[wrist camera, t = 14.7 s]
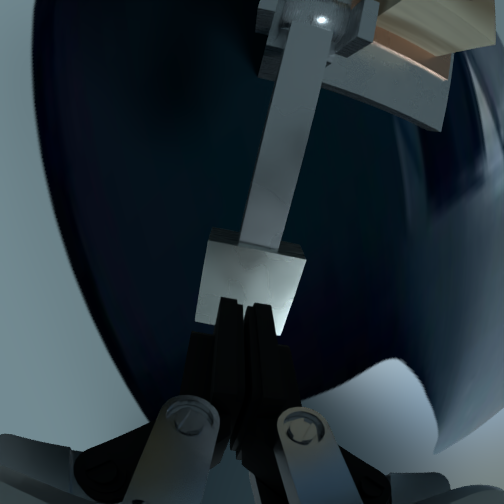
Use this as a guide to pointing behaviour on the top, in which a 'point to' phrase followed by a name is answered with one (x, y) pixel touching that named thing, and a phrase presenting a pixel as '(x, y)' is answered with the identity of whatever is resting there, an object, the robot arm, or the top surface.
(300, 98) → the press lever
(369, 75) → the press
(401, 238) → the top surface
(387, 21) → the maple block
